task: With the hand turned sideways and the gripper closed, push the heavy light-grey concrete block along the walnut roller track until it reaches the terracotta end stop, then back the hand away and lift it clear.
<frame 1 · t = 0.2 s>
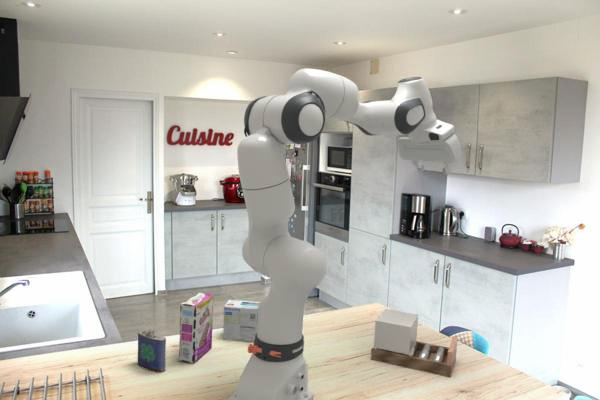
hand: (434, 172, 151), 53 cm above the table, tool tilted 25°, fingers open, 8 cm apart
light bulb box: (242, 337, 155), on the table
slab: (396, 330, 145), point 8 cm above the table, slide at 0.0 cm
roller track: (413, 359, 144), on the table
candy bar box: (196, 355, 141), on the table
flask: (150, 368, 133), on the table
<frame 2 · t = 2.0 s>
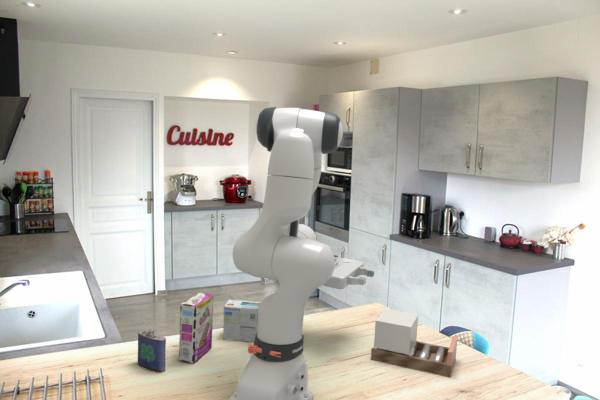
hand: (369, 277, 147), 22 cm above the table, tool horizontal, fingers open, 8 cm apart
nothing on the table moved.
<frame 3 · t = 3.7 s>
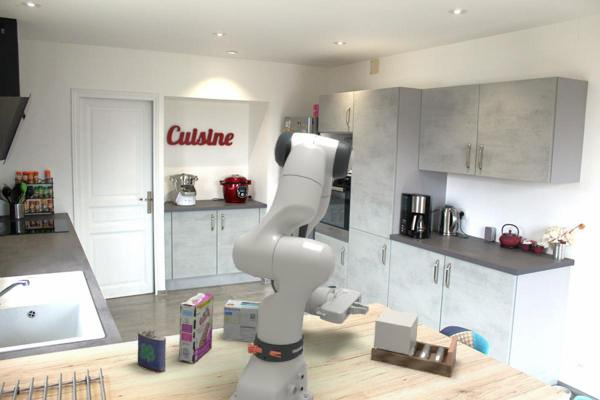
hand: (367, 310, 149), 12 cm above the table, tool horizontal, fingers closed
nothing on the table moved.
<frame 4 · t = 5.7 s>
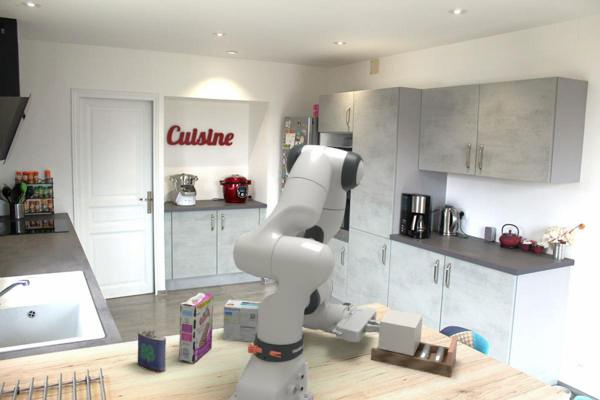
hand: (383, 328, 147), 7 cm above the table, tool horizontal, fingers closed, pressing on slab
slab: (400, 331, 145), point 8 cm above the table, slide at 1.3 cm, touching gripper
everything else where it was.
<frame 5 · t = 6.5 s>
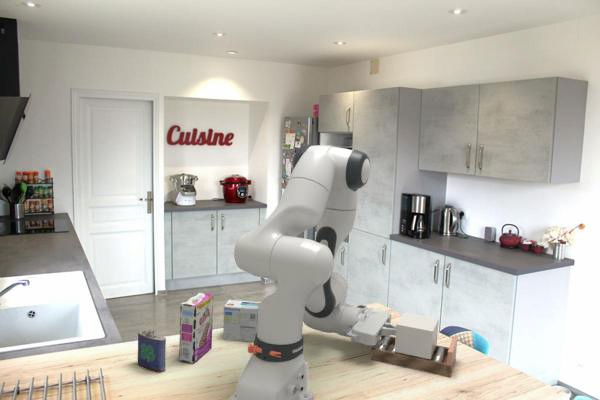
hand: (399, 331, 145), 7 cm above the table, tool horizontal, fingers closed, pressing on slab
slab: (417, 334, 143), point 8 cm above the table, slide at 6.0 cm, touching gripper
everything else where it was.
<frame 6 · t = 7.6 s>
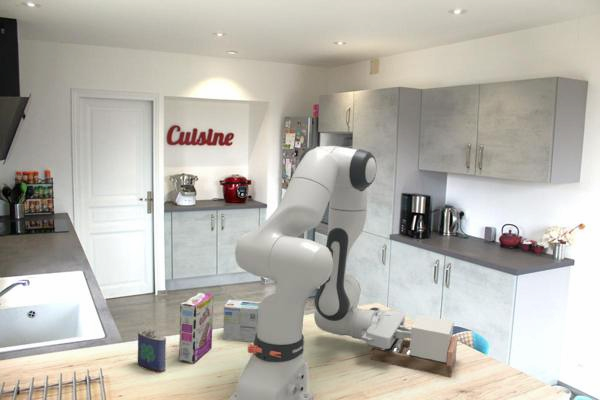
hand: (414, 334, 143), 7 cm above the table, tool horizontal, fingers closed, pressing on slab
slab: (432, 337, 141), point 8 cm above the table, slide at 10.1 cm, touching gripper
everything else where it was.
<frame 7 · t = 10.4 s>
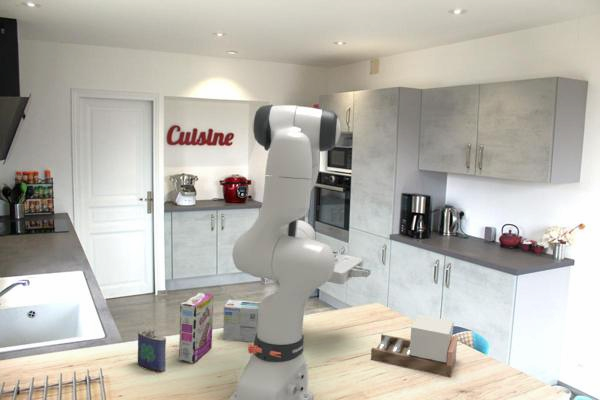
hand: (369, 273, 146), 23 cm above the table, tool horizontal, fingers closed
slab: (431, 337, 141), point 8 cm above the table, slide at 10.1 cm
everything else where it was.
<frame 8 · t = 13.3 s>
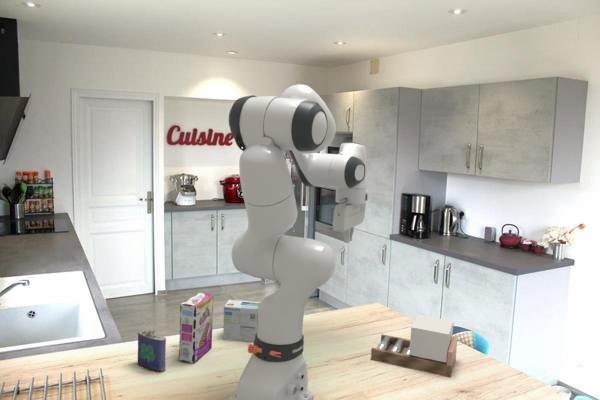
hand: (347, 241, 153), 31 cm above the table, tool pointing down, fingers closed
nothing on the table moved.
at the end: slab slide at 10.1 cm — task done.
